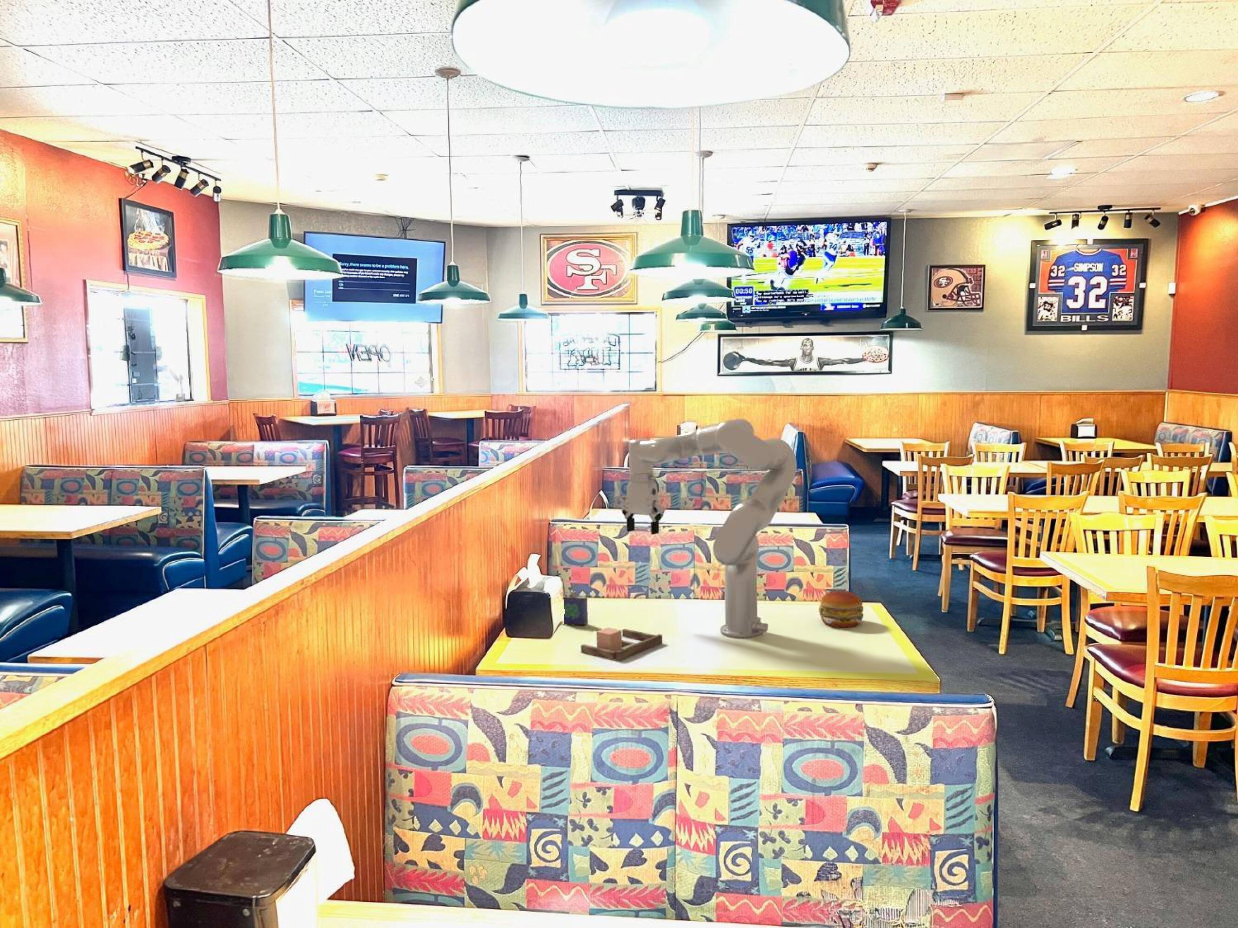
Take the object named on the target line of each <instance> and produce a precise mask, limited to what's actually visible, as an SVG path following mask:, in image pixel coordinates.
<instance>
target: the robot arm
mask: <svg viewBox="0 0 1238 928" xmlns="http://www.w3.org/2000/svg"><path fill="white" fill-rule="evenodd" d="M722 452H725V453H726V452H727V453H728V454H729V455H731V456H733V457H734V458H736V459H737V460H739V462H740V461H741V462H742V463H744V464H746V465H747V466H749V467H750V468H751V469H754V470H756V471H761V472H764V474H763V475H762V477H761V478H760V480H759V482H757V485H756V487H755V488H754V490H753V492H752V493H751V495H750V497H749V498H748V499H746V500H744V501H742V502H740V503H738V504H736V505H735V507H734V508H733V509H732V510H731V511H730V512H729V514H728V516H727V518H726V520H725V522H724V523H723V525H722V527H721V528H720V531H719V532H718V533H717V536H716V538H715V539H714V541H713V546H712V552H713V556H714V558H715V560H716V561H718V563H719V564H721V565H724V611H725V614H724V615H725V616H724V617H725V624H723V625H722V626H720V629H719V630H720V633H721V634H722V635H724V636H726V637H727V636H728V637H731V638H740V639H741V638H743V639H744V638H745V639H746V638H754V637H758V636H760V635H762V634H763V633H767V632H768V630H769V629H768V628H769V623H767V622H766V623H764V622H762V619H761V618H762V617H758V558H759V549H760V547H759V545H760V543H759V539H758V536H757V534H758V532H761V531H763V530H764V529H766V528H767V527H768V526H769V525H770V524H771V522H772V520H773V518H774V517H775V515H776V513H777V511H778V509H779V508H780V506H781V504H782V502H783V500H784V498H785V497H786V496H787V493H788V492H789V490H790V488H791V486H792V485H793V482H794V480H795V477H796V473H797V459H796V458H797V457H796V454H795V452H794V450H793V448H792V447H791V446H790V444H789V443H788V442H786V440H783V439H780V438H773V437H772V438H769V439H761V438H760V437H758V436H756V435H755V430H754V427H753V425H752V423H751V422H749V421H748V420H746V419H743V418H736V419H729V420H725V421H723V422H719V423H714V424H712V425H711V424H710V425H705V426H701V427H699V428H697V429H696V430H694V431H690V432H686V433H682V434H678V435H674V436H669V437H662V438H657V439H649V438H634V439H630V440H629V442H628V470H629V475H628V476H629V482H628V483H627V488H626V500H625V501H624V502H622V503H620V504H619V507H620V510H621V513H622V515H624V519H625V520H626V531H627V532H633V531H635V530H636V529H635V528H636V527H635V526H636V524H635V517H634V516H635V515H641V516H649V517H650V519H651V522H650V534H651V535H657V534H659V533H660V521H661V519H662V518H663V517H664V514H665V511H666V507H665V506H663V505H662V504H661V503H660V499H659V492H658V487H657V483H656V482H654V480H656V478H657V476H656V475H654V464H657V465H660V464H665V463H669V462H674V461H678V460H682V459H687V458H692V457H696V456H708V455H709V456H710V455H713V454H718V453H722Z"/></svg>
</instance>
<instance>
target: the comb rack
mask: <svg viewBox="0 0 1238 928" xmlns="http://www.w3.org/2000/svg"><path fill="white" fill-rule="evenodd" d="M621 634H622V637H624V638H628V639H634V640H638V641H639V642H632V641H628V640H623V639H622V648H621V650H618V651H616V652H615V651H611V650H606V649H602V648H598V647H597V646H593V645H588V644H581V645H580V652H581V653H584V654H587V655H591V656H595V657H600V658H604V659H608V660H612V661H614V660H615V661H616V662H621V661H623V660H627V659H628V658H630V657H633V656H635V655H638V654H640V653H642V652H645V651H648V650H649V649H652V648H654V647H657V646H659V645H662V644H663V634H651V633H647V632H641V631H636V630H634V629H628V628H623V629H622V630H621Z"/></svg>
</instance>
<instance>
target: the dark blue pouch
mask: <svg viewBox="0 0 1238 928" xmlns="http://www.w3.org/2000/svg"><path fill="white" fill-rule="evenodd" d="M576 593H577V591H576V590H571V591H570V594H568V593H565V594H563V595H564V598H563V599H564V609H565V614H564V624H567V626H580V627H581V626H582V627H583V626H584V627H585V626H588V624H589V620H588V614H589V613H588V597H587V596H579V595H578V596H577V595H576ZM564 624H563V625H564Z"/></svg>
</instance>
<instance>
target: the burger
mask: <svg viewBox="0 0 1238 928" xmlns="http://www.w3.org/2000/svg"><path fill="white" fill-rule="evenodd" d="M819 602H820V603H819V604H820V605H819V606H818V613H819V616H820V619H821V621H822V622H823V623H824V624H826V625H828V626H832V627H839V628H848V627H855V626H858V625H860V624H861V623H862V621H863V618H864V613H863V612H864V606H863V600H862V599H861V598H860V596H859V595H857V594H855V593H853V592H850V591H846V590H835V591H829V592H828V593H826V594H824V595H823V596H822V597H821V599H820V601H819Z"/></svg>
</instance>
